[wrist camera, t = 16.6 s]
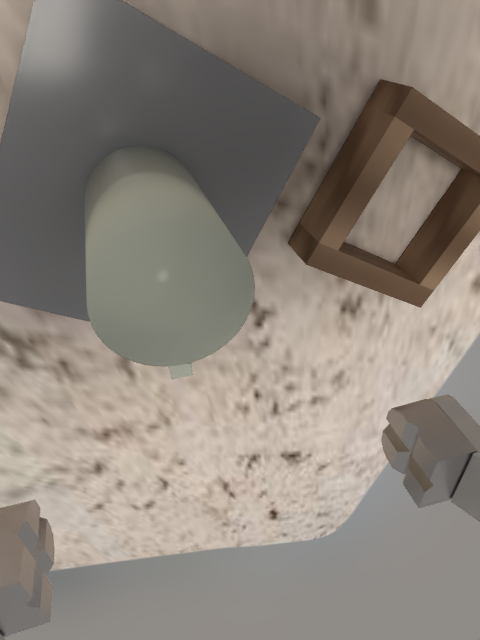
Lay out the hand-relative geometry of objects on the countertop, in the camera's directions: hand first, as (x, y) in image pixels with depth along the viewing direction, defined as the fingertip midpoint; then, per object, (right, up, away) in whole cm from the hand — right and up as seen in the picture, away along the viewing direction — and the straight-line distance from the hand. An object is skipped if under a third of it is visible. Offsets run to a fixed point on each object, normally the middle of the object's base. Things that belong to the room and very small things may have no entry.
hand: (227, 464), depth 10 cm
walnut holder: (+10, +11, +19) cm, 24 cm away
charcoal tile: (-5, +10, +14) cm, 18 cm away
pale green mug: (-5, +9, +14) cm, 17 cm away
